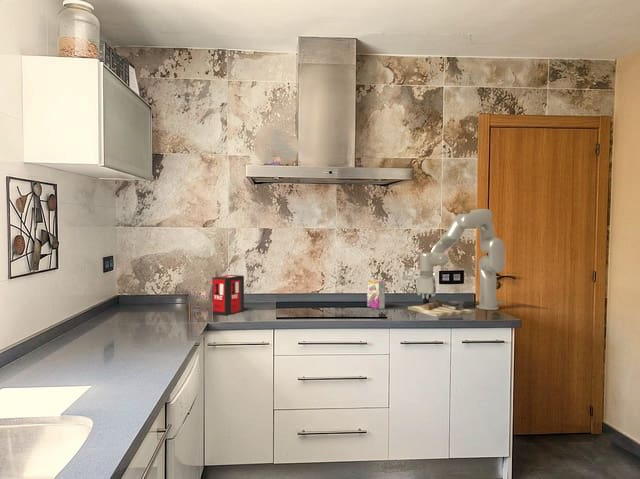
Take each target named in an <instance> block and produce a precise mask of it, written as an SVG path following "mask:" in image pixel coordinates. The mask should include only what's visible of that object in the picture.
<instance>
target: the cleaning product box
mask: <svg viewBox="0 0 640 479" xmlns="http://www.w3.org/2000/svg"><path fill="white" fill-rule="evenodd" d="M211 278H212V279H211V280H212V290H211V291H212V293H211V294H212V299H211V300H212V301H211V302H213V314H212V315H215V316H223V317H227V316H231V315H234V314H238V313H241V312H244V311H245V305H244V304H245V276H244V275H242V274H240V275H237V274H227V275H220V276H219V275H218V276H213V277H211Z"/></svg>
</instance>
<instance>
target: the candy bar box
mask: <svg viewBox="0 0 640 479" xmlns="http://www.w3.org/2000/svg"><path fill="white" fill-rule="evenodd" d="M366 287H367V288H366V307H368V308H371V309H376V310H383V309H385V308H386V307H385V303H386V300H385V299H386V281H385V280H381V279H374V278H372V279H367V280H366Z"/></svg>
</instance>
